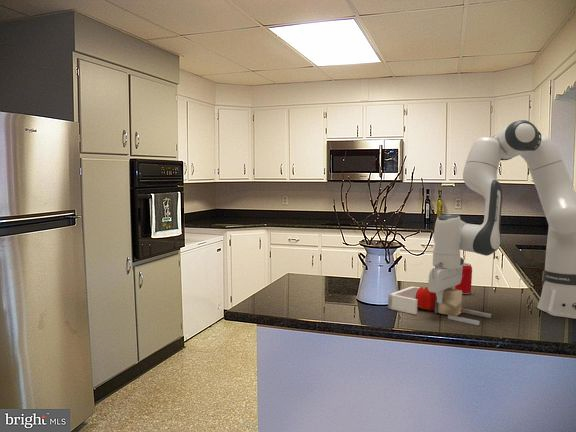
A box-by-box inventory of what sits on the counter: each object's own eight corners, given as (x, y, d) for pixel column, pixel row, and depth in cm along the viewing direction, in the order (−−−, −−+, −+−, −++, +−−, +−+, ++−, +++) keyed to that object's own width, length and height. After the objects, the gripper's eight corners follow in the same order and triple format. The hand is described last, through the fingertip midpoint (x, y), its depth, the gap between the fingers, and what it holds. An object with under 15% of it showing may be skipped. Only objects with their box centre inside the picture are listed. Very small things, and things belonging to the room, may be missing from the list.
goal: (438, 304, 177) (438, 290, 176) (415, 314, 163) (415, 300, 162) (411, 298, 183) (412, 286, 183) (387, 308, 170) (388, 294, 169)
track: (491, 317, 161) (491, 314, 161) (478, 325, 152) (478, 321, 152) (461, 311, 168) (461, 308, 167) (447, 318, 159) (447, 315, 158)
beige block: (462, 312, 165) (463, 289, 164) (454, 317, 160) (455, 293, 159) (443, 308, 169) (444, 286, 169) (434, 312, 164) (435, 289, 163)
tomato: (426, 304, 176) (427, 284, 175) (446, 310, 168) (447, 289, 168) (408, 307, 171) (409, 287, 171) (427, 314, 164) (428, 292, 163)
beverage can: (457, 290, 199) (459, 262, 198) (473, 293, 195) (474, 264, 194) (452, 293, 194) (453, 264, 193) (467, 295, 190) (469, 266, 189)
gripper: (442, 266, 154) (440, 308, 155) (466, 259, 170) (464, 297, 171) (424, 263, 158) (422, 304, 160) (448, 256, 174) (447, 294, 175)
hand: (444, 300), depth 165 cm, fingers closed on beige block, 5 cm apart
